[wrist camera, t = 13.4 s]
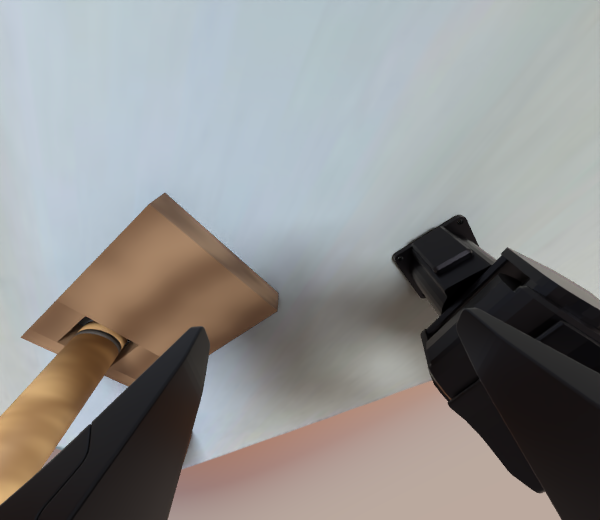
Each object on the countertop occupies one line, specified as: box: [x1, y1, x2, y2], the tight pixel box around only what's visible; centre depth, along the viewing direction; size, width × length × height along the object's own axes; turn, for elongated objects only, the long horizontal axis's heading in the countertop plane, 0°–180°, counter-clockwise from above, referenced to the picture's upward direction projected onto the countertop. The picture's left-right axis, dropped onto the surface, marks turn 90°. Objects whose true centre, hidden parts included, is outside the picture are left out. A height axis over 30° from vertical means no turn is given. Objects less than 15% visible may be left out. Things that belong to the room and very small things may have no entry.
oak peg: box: [0, 321, 127, 505], centre depth 20 cm, size 4×4×14 cm
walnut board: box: [21, 193, 278, 386], centre depth 24 cm, size 13×20×2 cm, turn 129°
